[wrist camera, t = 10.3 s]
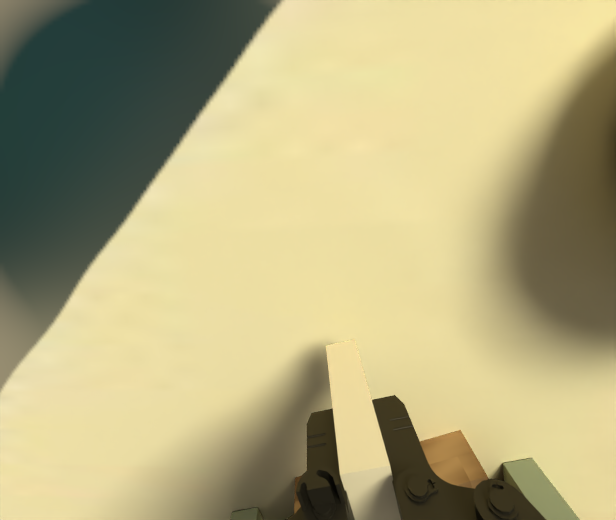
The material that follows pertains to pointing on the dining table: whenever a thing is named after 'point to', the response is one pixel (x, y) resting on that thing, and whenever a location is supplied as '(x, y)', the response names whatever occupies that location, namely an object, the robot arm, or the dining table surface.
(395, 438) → the robot arm
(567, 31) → the dining table surface
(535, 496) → the sage green box
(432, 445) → the wooden tray
